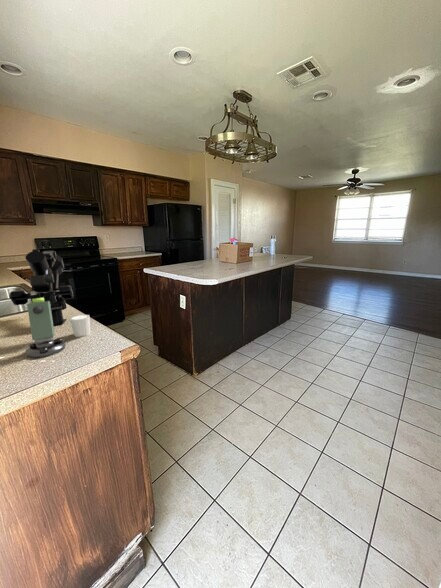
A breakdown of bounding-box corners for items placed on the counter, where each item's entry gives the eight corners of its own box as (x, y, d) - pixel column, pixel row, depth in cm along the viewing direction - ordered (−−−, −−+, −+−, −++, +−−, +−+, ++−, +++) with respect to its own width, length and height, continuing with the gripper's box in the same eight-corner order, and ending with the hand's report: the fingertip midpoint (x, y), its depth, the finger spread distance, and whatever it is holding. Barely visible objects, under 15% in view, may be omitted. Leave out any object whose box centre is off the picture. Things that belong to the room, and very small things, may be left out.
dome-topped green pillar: (35, 342, 84) (29, 299, 83) (55, 339, 86) (49, 297, 86) (31, 345, 78) (24, 299, 78) (52, 341, 81) (45, 297, 81)
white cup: (68, 335, 96) (65, 318, 94) (85, 329, 102) (82, 313, 100) (79, 338, 93) (76, 321, 91) (96, 332, 99) (93, 315, 97)
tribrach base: (29, 347, 86) (28, 339, 86) (66, 340, 91) (65, 333, 90) (22, 361, 77) (20, 352, 76) (64, 353, 82) (62, 344, 81)
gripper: (4, 268, 85) (2, 307, 78) (67, 264, 93) (70, 299, 86) (15, 286, 93) (14, 323, 87) (72, 281, 102) (75, 314, 95)
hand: (44, 314), depth 88 cm, fingers closed
